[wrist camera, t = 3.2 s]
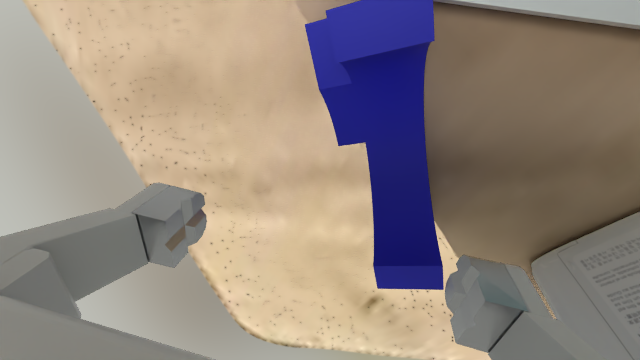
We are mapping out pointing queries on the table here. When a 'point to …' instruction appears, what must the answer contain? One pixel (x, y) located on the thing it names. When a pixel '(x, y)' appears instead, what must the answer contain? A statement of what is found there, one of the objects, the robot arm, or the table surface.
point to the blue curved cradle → (385, 124)
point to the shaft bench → (568, 9)
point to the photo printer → (597, 287)
